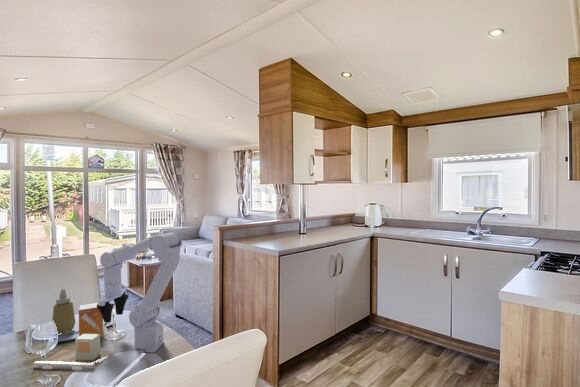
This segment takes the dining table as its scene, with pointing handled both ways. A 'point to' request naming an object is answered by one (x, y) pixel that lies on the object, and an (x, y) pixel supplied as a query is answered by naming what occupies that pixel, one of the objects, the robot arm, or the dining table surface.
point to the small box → (90, 320)
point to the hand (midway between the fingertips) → (113, 318)
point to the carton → (87, 346)
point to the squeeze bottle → (63, 313)
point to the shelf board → (70, 361)
